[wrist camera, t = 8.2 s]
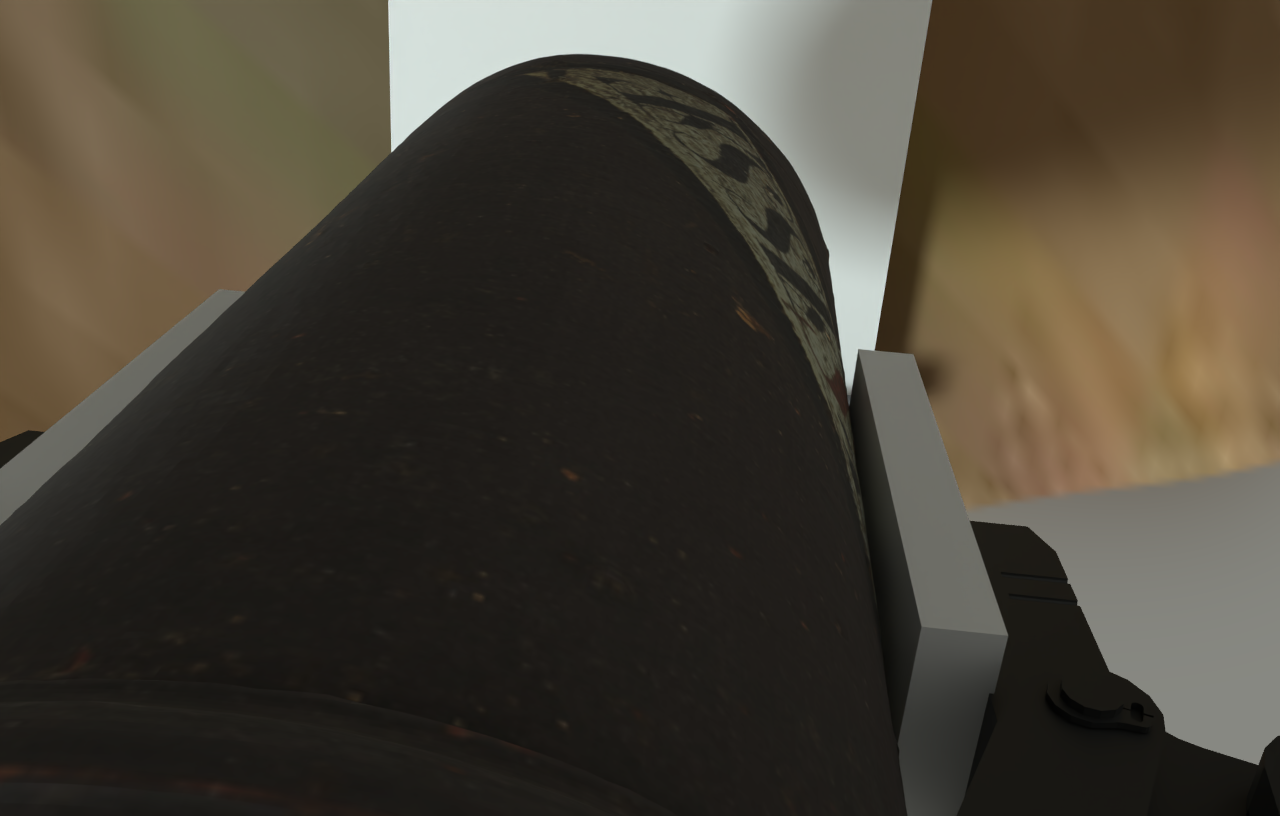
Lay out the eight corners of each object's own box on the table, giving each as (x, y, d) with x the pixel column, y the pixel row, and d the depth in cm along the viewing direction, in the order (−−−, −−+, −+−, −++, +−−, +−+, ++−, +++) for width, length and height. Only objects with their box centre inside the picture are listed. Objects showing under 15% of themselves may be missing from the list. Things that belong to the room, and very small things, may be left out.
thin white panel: (402, -385, 29) (357, -417, 26) (975, -346, 29) (1007, -373, 25) (413, 367, 38) (379, 418, 34) (854, 409, 37) (865, 465, 34)
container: (816, 484, 24) (1030, 2314, 6) (383, 457, 25) (-586, 2069, 7) (860, 45, 21) (1699, 1364, 3) (352, 26, 21) (-1945, 999, 3)
